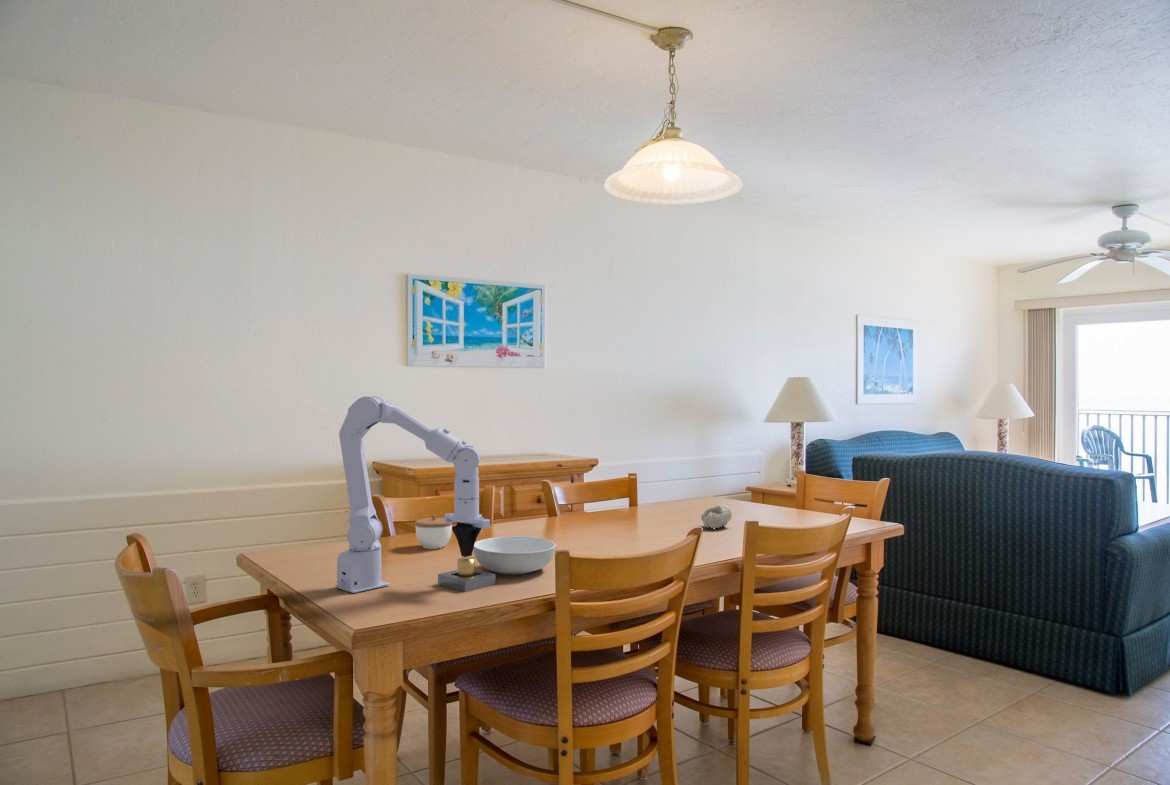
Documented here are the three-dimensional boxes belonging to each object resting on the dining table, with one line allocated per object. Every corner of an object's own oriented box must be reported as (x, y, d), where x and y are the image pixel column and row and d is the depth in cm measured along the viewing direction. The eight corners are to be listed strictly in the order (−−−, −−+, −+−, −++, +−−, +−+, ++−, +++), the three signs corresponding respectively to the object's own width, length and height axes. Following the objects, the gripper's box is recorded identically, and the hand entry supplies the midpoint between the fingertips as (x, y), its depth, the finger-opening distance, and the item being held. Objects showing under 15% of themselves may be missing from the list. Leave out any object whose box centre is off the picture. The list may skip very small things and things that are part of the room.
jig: (465, 591, 169) (465, 581, 169) (438, 584, 176) (438, 574, 176) (495, 584, 176) (495, 574, 176) (468, 577, 182) (468, 567, 182)
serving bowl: (496, 585, 175) (496, 555, 175) (459, 567, 192) (459, 541, 193) (571, 573, 186) (571, 546, 187) (530, 558, 204) (530, 533, 204)
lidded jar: (448, 551, 213) (448, 518, 213) (410, 550, 213) (410, 517, 213) (456, 543, 224) (456, 512, 224) (420, 543, 224) (420, 512, 224)
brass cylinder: (464, 587, 173) (464, 561, 173) (454, 584, 175) (453, 559, 175) (478, 584, 176) (478, 558, 176) (467, 581, 178) (467, 556, 178)
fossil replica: (699, 531, 246) (730, 534, 244) (701, 506, 245) (732, 509, 244) (700, 521, 258) (730, 525, 256) (702, 498, 257) (732, 501, 255)
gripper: (500, 499, 174) (500, 557, 174) (460, 493, 183) (460, 549, 183) (476, 502, 168) (476, 562, 168) (437, 496, 178) (437, 553, 178)
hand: (466, 555), depth 176 cm, fingers closed
